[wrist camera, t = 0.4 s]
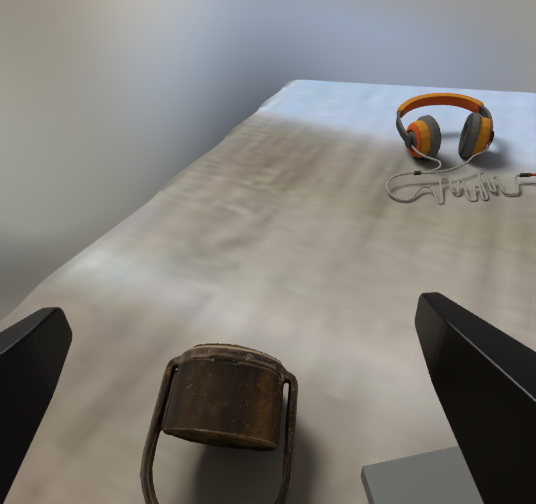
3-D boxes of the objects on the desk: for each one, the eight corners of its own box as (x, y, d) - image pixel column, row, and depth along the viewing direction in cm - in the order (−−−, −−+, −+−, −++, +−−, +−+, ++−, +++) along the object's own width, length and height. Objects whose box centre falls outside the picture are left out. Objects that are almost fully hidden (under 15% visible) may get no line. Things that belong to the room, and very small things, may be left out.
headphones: (392, 188, 38) (373, 83, 50) (385, 221, 43) (369, 117, 54) (566, 183, 36) (506, 74, 48) (541, 217, 41) (491, 110, 52)
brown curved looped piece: (357, 364, 21) (208, 286, 23) (236, 669, 12) (17, 487, 15) (326, 421, 26) (205, 351, 28) (223, 668, 17) (60, 531, 19)
